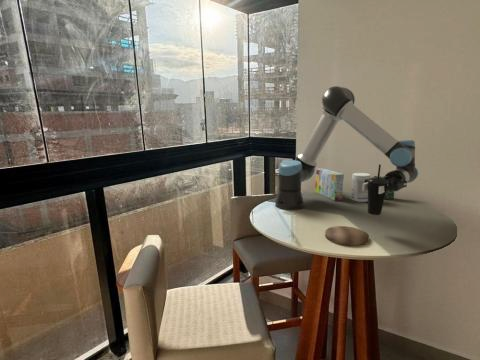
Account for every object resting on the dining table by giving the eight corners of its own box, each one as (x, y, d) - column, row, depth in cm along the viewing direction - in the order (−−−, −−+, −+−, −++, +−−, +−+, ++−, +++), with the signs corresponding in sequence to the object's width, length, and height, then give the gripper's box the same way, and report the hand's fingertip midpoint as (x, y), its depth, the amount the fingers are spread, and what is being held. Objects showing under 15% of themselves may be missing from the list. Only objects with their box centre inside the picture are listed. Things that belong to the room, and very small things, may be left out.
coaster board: (329, 245, 107) (330, 241, 107) (321, 229, 123) (321, 225, 122) (375, 246, 106) (375, 242, 105) (361, 229, 121) (361, 226, 121)
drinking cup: (380, 209, 121) (386, 162, 116) (387, 216, 114) (394, 166, 109) (361, 209, 122) (366, 162, 117) (367, 216, 115) (373, 166, 109)
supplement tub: (372, 199, 164) (374, 174, 161) (364, 203, 157) (366, 176, 154) (355, 196, 171) (357, 171, 167) (347, 200, 164) (349, 174, 161)
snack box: (342, 200, 164) (344, 173, 161) (334, 201, 162) (335, 174, 159) (322, 191, 184) (323, 167, 181) (314, 192, 182) (315, 168, 179)
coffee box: (379, 199, 164) (381, 176, 161) (377, 198, 167) (379, 175, 164) (393, 199, 164) (396, 176, 161) (391, 197, 167) (393, 175, 164)
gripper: (419, 190, 121) (395, 203, 107) (374, 183, 135) (348, 193, 121) (421, 173, 120) (397, 183, 105) (375, 167, 133) (349, 175, 119)
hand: (371, 188), depth 113 cm, fingers closed on drinking cup, 6 cm apart
